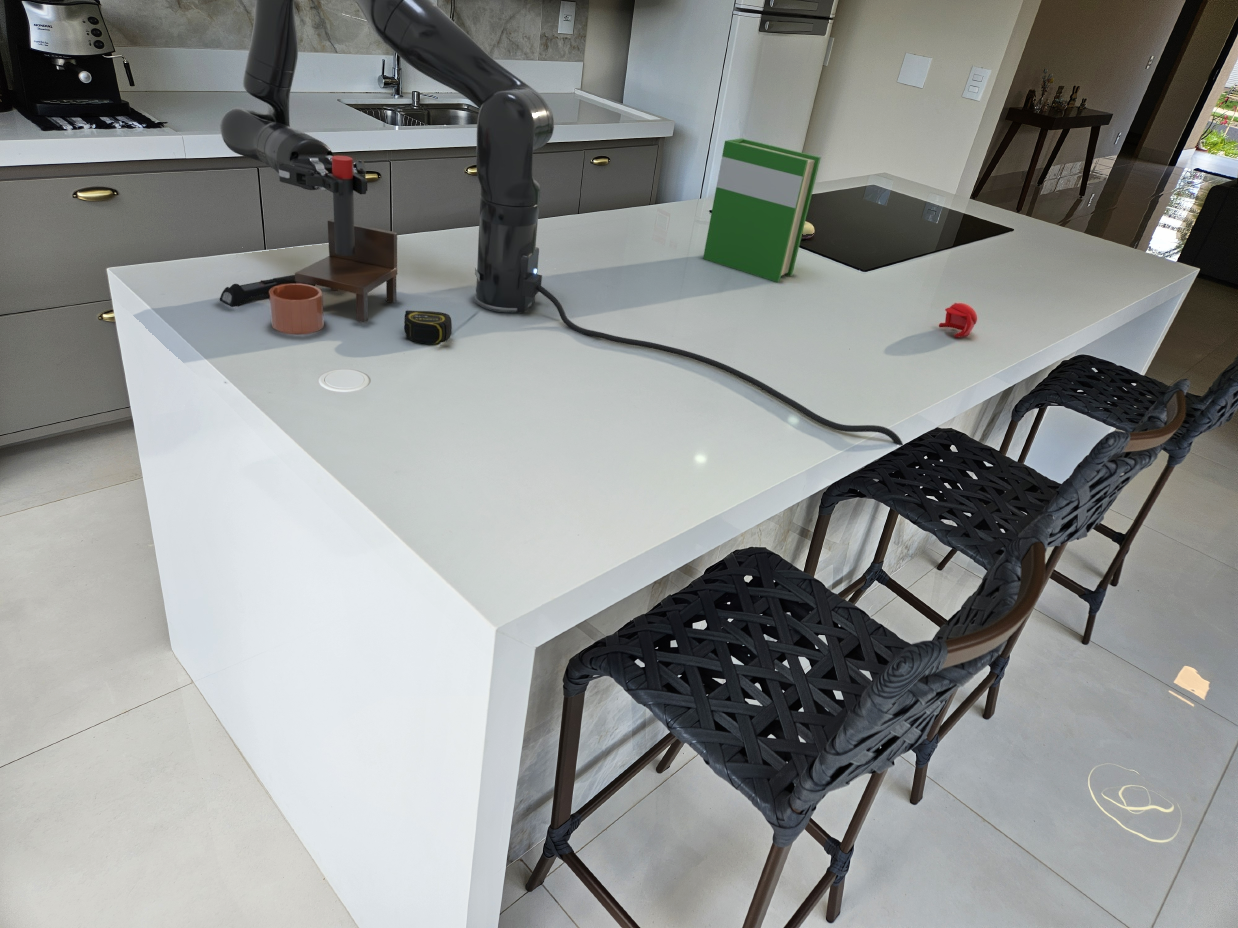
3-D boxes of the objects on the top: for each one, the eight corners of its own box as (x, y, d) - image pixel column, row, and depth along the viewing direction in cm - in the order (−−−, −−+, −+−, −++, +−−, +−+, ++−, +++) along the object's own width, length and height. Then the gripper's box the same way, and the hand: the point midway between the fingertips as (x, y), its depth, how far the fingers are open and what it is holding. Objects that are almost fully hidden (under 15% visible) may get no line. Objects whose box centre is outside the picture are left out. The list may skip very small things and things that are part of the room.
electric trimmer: (323, 293, 135) (322, 274, 133) (232, 311, 123) (230, 290, 122) (309, 286, 136) (308, 267, 135) (218, 303, 125) (216, 282, 124)
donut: (772, 236, 212) (773, 239, 203) (773, 217, 210) (774, 220, 201) (812, 236, 210) (815, 240, 202) (813, 217, 209) (816, 220, 200)
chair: (397, 303, 134) (397, 232, 129) (364, 326, 125) (362, 250, 119) (334, 290, 136) (331, 219, 130) (296, 311, 126) (291, 236, 121)
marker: (358, 252, 127) (356, 158, 120) (349, 257, 124) (346, 161, 117) (341, 248, 127) (338, 154, 120) (331, 253, 125) (328, 157, 118)
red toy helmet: (946, 324, 162) (956, 294, 159) (976, 334, 159) (987, 304, 156) (929, 332, 157) (940, 301, 154) (960, 343, 154) (971, 312, 151)
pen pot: (333, 325, 124) (331, 289, 121) (307, 341, 118) (304, 304, 115) (289, 315, 125) (287, 280, 122) (261, 331, 119) (258, 294, 116)
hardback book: (792, 275, 177) (820, 157, 165) (777, 282, 171) (806, 160, 159) (719, 252, 184) (741, 138, 172) (702, 258, 179) (724, 141, 167)
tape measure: (450, 332, 127) (451, 309, 126) (451, 350, 122) (452, 326, 120) (404, 330, 126) (404, 306, 124) (402, 348, 120) (402, 323, 118)
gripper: (251, 133, 123) (303, 162, 113) (341, 132, 132) (397, 159, 121) (255, 185, 127) (306, 218, 116) (343, 181, 135) (397, 211, 125)
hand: (352, 187), depth 119 cm, fingers closed on marker, 3 cm apart
